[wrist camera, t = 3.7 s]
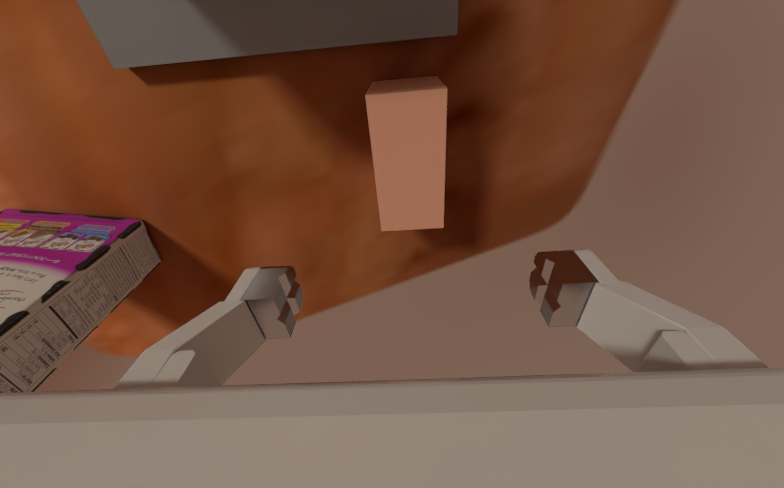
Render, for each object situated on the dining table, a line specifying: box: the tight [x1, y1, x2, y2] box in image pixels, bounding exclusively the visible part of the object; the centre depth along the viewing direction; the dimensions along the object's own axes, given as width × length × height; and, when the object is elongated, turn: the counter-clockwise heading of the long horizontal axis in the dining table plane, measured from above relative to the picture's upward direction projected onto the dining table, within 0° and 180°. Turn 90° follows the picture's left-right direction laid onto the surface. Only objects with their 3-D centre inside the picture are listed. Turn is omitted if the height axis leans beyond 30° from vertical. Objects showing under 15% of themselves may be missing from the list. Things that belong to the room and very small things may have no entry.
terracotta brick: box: [365, 76, 447, 231], centre depth 19 cm, size 4×8×5 cm, turn 5°
